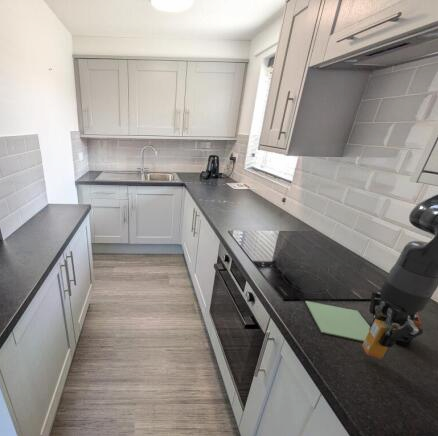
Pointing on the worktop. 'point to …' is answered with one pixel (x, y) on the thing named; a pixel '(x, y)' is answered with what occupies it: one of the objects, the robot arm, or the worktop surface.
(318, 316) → the sticky note pad
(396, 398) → the worktop surface
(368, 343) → the supplement box
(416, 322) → the battery
